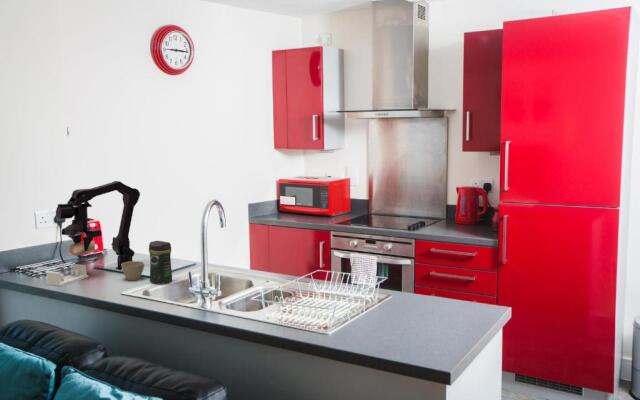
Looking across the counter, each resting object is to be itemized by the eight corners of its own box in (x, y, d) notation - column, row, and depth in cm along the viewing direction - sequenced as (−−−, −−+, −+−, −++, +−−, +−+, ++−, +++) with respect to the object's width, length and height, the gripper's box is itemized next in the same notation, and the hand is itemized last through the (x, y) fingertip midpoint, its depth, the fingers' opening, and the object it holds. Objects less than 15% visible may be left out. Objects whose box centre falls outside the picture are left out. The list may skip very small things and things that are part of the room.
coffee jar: (175, 281, 270) (174, 240, 268) (161, 285, 264) (160, 243, 261) (160, 278, 276) (159, 238, 273) (146, 282, 269) (145, 241, 267)
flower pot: (126, 283, 268) (126, 267, 267) (118, 278, 276) (117, 263, 275) (148, 279, 274) (147, 264, 273) (139, 275, 282) (138, 260, 281)
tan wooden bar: (94, 250, 284) (94, 241, 284) (76, 255, 273) (75, 245, 273) (88, 250, 286) (87, 240, 285) (69, 255, 275) (68, 245, 274)
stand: (88, 277, 278) (87, 265, 278) (60, 286, 262) (59, 273, 262) (74, 275, 281) (74, 263, 280) (46, 284, 265) (45, 272, 265)
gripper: (51, 218, 274) (53, 252, 275) (84, 220, 267) (85, 255, 269) (69, 215, 284) (71, 247, 286) (101, 217, 277) (103, 251, 279)
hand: (82, 250), depth 280 cm, fingers closed on tan wooden bar, 4 cm apart
